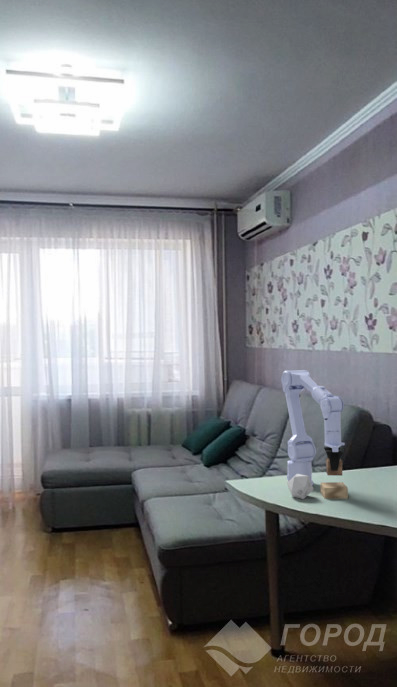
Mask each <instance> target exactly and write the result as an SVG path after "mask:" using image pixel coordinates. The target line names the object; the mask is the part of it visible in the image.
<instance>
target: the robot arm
mask: <svg viewBox="0 0 397 687" xmlns="http://www.w3.org/2000/svg"><path fill="white" fill-rule="evenodd" d="M280 381H281V386H282V391H283V393H284V394H285V399H286V405H287V410H288V416H289V423H290V428H291V433H292V436H291V437H290V439H288V440H287V442H286V443H287V455H288V457H289V459H290V460H287V474H286V480H287V482H288V481H290V480H291V479H292V478H293V477H294V476H295V475H296V474H301V475H306V476H309V479H310V481H311V484H312V486H314V484H315V483H314V481H313V478H312V475H313V474H312V472H313V471H312V467H313V466H312V461H314V458H315V457H316V455H317V448H316V446H315V444H314V441H313V438H312V437H311V436H309V435H308V434H307V432H306V426H305V422H304V416H303V409H302V405H301V399H300V393H302V392H303V391H304V390H305V389H306V390H307V391H308V392H310V393H311V397H312V399H313V400H314V401H315V402H316V403H318V405H320V410H321V413H322V418H323V421H324V423H323V425H324V427H323V429H324V444H323V445H324V446H325V447H323V449H324V450H325V452H326V453H325V454H326V457H327V458H329V461H330V467H331V470H332V471H338V467H339V461H340V459H341V457H342V455H343V453H344V451H343V450H341V447H342V446H345V444H346V442H342V428H341V427H342V425H341V424H342V422H341V421H342V420H341V419H342V418H341V415H342V414H341V413H342V412H343V410H344V408H345V404H344V400H343V398H342V397H341V396H340V395H334V394H332V392H330V391H329V390H328V389H326V387H325V386H324V385H318V383H316V382H315V381H314V380H313V379H312V378H311V373H310V372H309V371H308V370H306V369H302V370H301V369H300V370H297V369H296V370H284V371H283V372H282V374H281V378H280Z"/></svg>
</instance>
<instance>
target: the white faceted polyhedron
mask: <svg viewBox="0 0 397 687" xmlns="http://www.w3.org/2000/svg"><path fill="white" fill-rule="evenodd" d="M286 483H287V487H288V489H289V492H290V494H291V497H293V498H297V499H301V500H304V499H305V498H307V497H308V496H309V494H311V493H312V492H313V491H314V487H313V486H314V485H312V484H311V481H310V479H309V476H306V475H301V474H296V475H295V476H294V477H293V478H292V479H291V480H290V481H288V480H287V482H286Z"/></svg>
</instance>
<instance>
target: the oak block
mask: <svg viewBox="0 0 397 687" xmlns="http://www.w3.org/2000/svg"><path fill="white" fill-rule="evenodd" d="M348 490H349V488H348V486H347V485H346V484H345V483H344V482H343V481H342V482H341V481H339V482H338V481H337V482H335V481H333V482H331V481H330V482H320V495H321V496H322V497H323V498H324V499H326V500H327V499H330V500H331V499H333V500H335V499H348V498H349V492H348Z"/></svg>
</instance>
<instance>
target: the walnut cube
mask: <svg viewBox="0 0 397 687" xmlns="http://www.w3.org/2000/svg"><path fill="white" fill-rule="evenodd" d="M325 465H326V466H325V469H326V470H325V472H326V474H327V476H337V477H338V476H343V460H342V459H341V458H340V461H339V467H338V471H332V470H331V467H330V461H329V458H328V457H327V458H325Z"/></svg>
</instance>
